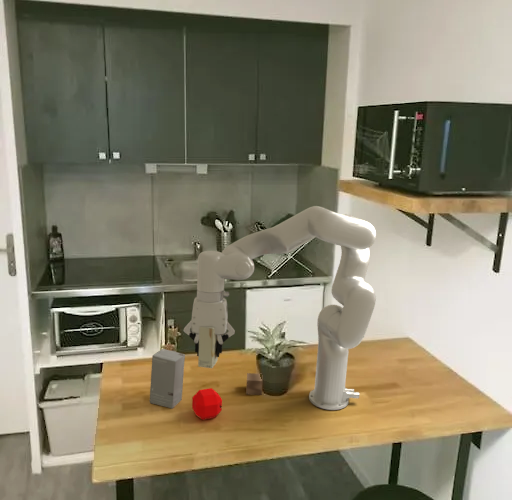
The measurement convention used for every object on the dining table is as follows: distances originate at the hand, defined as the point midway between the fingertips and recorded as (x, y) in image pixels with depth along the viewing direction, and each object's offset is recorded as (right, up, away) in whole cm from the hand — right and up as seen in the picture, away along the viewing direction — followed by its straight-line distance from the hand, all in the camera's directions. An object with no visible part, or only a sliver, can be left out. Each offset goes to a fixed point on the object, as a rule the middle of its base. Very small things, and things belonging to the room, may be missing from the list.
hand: (208, 354), depth 152 cm
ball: (-1, -19, +5) cm, 20 cm away
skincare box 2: (0, -3, +1) cm, 3 cm away
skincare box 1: (-14, -17, +11) cm, 25 cm away
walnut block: (+13, -16, +20) cm, 29 cm away
